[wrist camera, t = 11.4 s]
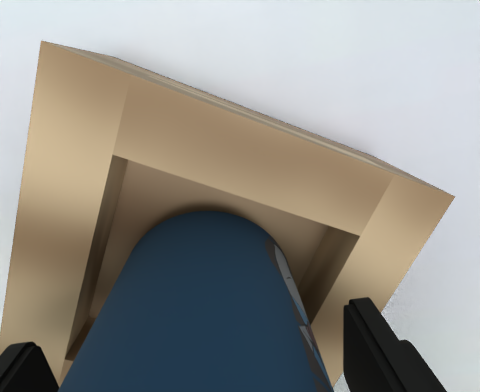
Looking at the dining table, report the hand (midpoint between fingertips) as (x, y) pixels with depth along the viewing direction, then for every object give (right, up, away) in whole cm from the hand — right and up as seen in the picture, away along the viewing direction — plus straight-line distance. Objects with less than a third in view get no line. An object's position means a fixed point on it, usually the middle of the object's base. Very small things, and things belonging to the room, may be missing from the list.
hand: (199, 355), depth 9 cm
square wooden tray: (-1, +3, +8) cm, 8 cm away
